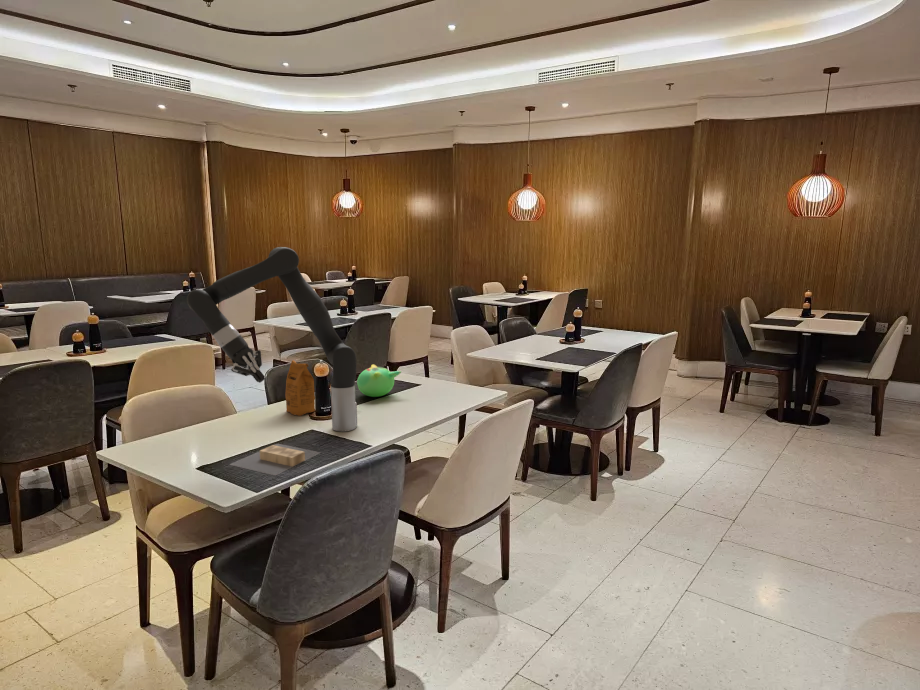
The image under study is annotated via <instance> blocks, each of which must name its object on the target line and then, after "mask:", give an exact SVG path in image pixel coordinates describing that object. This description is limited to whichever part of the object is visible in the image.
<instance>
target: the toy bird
mask: <svg viewBox="0 0 920 690" xmlns="http://www.w3.org/2000/svg"><path fill="white" fill-rule="evenodd" d="M401 373H402V371H401V370H396V371H390V370H389V369H388V368H385V367H382V366H377V365H376V364H371V366H370V367H369V368H366V369H364V370H363V371H362V372H361V373H360V374H359V375H358V377H357V380H356V381H357V382H356V384H357V388H358V390H359V392H360V393H362V395H365V396H367V397H371V398H377V397H382V396H385V395H387V394H389V393H390V392H391V391H392V390H393V388H394V385H395V379H396V377H397V376H399V375H400V374H401Z"/></svg>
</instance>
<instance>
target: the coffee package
mask: <svg viewBox="0 0 920 690" xmlns="http://www.w3.org/2000/svg"><path fill="white" fill-rule="evenodd" d="M308 367H309V364H308V363H297V362H296V361H295V360H294V359H293V360H291V362H290V365H289V369H288V371H287V375H286V376H287V377H286V379H285V380H286V381H285V402H286V406H285V408H286V412H287V413H290V414H291V415H293V416H299V417H300V416H301V417H302V416H303V415H305V414H309V413H313V412H315V411H316V407H315V404H316V402H315V400H316V396H315V379H314V377H313V376H312V374H311V372H310V371H309V369H308Z"/></svg>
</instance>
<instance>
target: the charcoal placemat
mask: <svg viewBox="0 0 920 690" xmlns="http://www.w3.org/2000/svg"><path fill="white" fill-rule="evenodd" d="M274 445H275V446H280V447H284V448H289V449H294V450H299V451H304V452H305V460H304V461H302V462H300V463H298V464H296V465H294V466H288V465H284V464H279V463H275V462H270V461H266V460H261V459H260V450H259V451H256V452H254V453H252V454H250V455H248V456H244V457H243V458H240V459H238V460H236V461H234V462H231V463H229V464H228V465H229V466H232V467H236V468H237V467H238V468H241V469H245V470H250V471H253V472H258V473H263V474H266V475H271V476H278V475H279V474H281V473H284V472H286V471H287V470H290V469H292V468H294V467H295V466H297V465H300V464H302V463H304V462H305V461H308V460H310V459H311V458H314V457H315V456H317V455H320V454H321V453H322V452H320V451H315V450H311V449H307V448H306V449H305V448H301V447H297V446H291V445H288V444H287V445H286V444H281V443H275V444H274Z"/></svg>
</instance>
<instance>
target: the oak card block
mask: <svg viewBox="0 0 920 690" xmlns="http://www.w3.org/2000/svg"><path fill="white" fill-rule="evenodd" d="M259 451H260V459H261V460H266V461H270V462H275V463H279V464H284V465H288V466H294V465H296V464H298V463H300V462H302V461H304V460H305V452H304V451H299V450H294V449H289V448H284V447H280V446H275V444H272V445H270V446H267V447H265V448H262V449H260V450H259ZM304 462H305V461H304ZM302 463H303V462H302ZM300 464H301V463H300ZM298 465H299V464H298ZM296 466H297V465H296ZM294 467H295V466H294Z"/></svg>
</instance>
